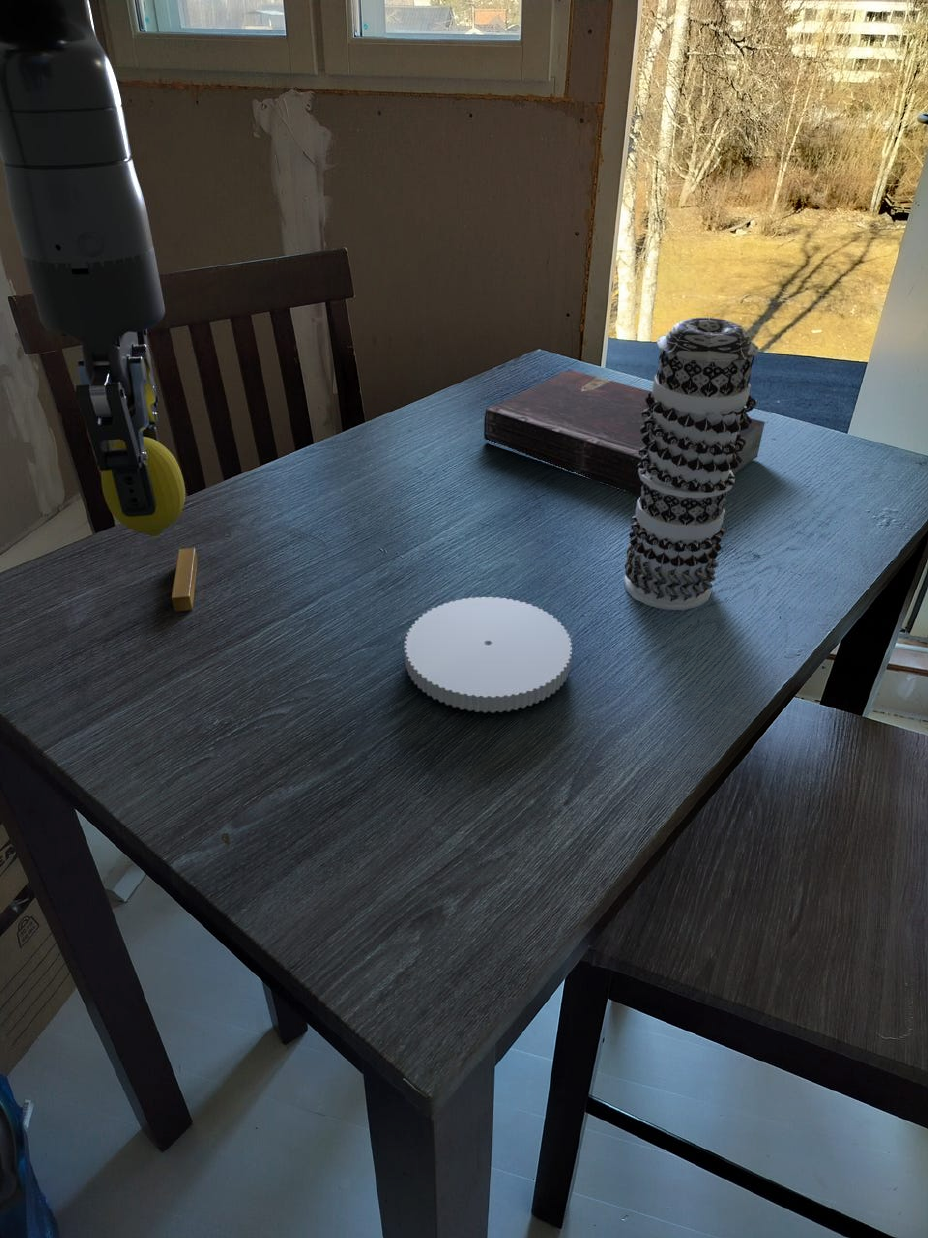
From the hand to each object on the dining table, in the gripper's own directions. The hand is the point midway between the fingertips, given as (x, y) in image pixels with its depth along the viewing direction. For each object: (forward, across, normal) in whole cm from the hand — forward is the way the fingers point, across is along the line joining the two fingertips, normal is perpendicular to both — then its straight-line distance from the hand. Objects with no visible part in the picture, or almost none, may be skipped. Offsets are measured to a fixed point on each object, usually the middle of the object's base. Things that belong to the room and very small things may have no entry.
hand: (145, 492), depth 61 cm
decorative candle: (+17, -6, +45) cm, 48 cm away
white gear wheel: (+17, +3, +25) cm, 31 cm away
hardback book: (+17, -37, +51) cm, 65 cm away
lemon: (+4, 0, 0) cm, 4 cm away
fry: (+17, -14, -1) cm, 22 cm away
